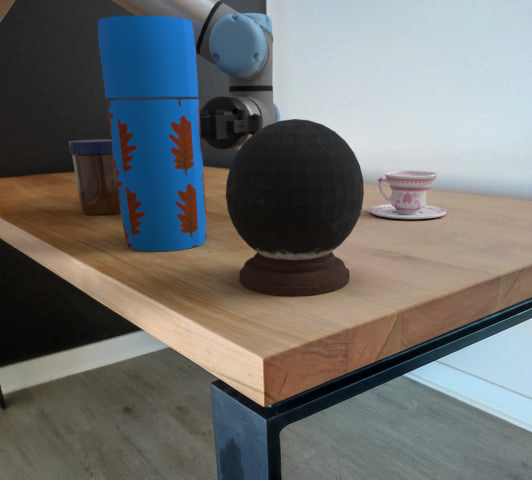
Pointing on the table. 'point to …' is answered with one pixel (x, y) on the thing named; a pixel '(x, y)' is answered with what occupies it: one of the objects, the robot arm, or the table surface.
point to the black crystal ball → (294, 207)
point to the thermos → (155, 129)
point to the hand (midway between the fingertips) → (163, 128)
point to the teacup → (408, 196)
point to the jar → (96, 183)
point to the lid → (91, 146)
